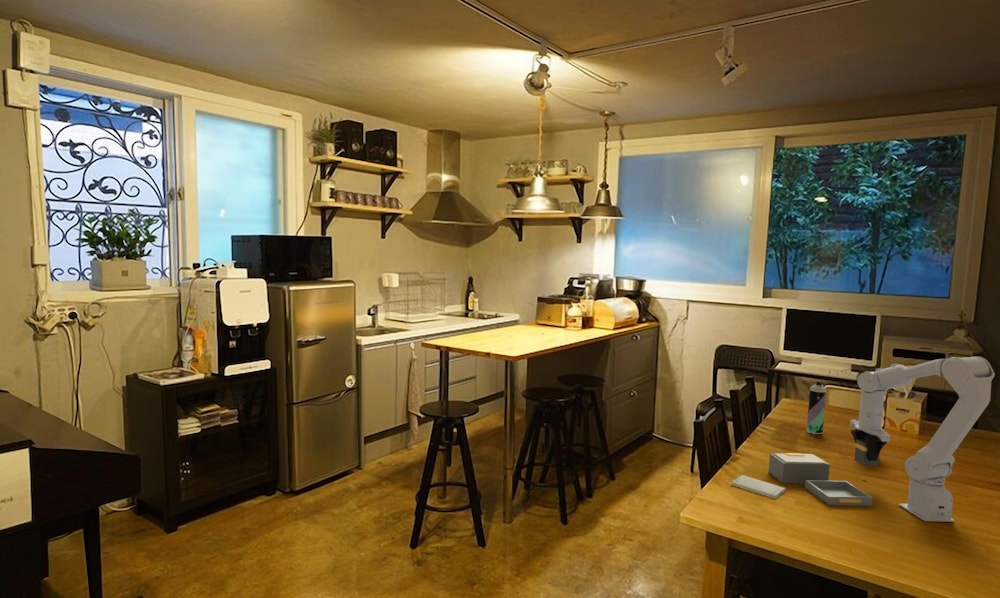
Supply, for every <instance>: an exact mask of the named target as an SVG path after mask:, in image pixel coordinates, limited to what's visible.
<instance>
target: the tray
mask: <svg viewBox="0 0 1000 598" xmlns="http://www.w3.org/2000/svg"><path fill="white" fill-rule="evenodd" d="M804 489H805V490H807V491H808V492H809V493H810V494H812V495H813V496H815V497H816V498H818V499H819V500H820V501H821V502H822V503H824V504H825V505H827V506H848V507H849V506H852V507H854V506H855V507H873V497H872V496H871V495H870V494H868V493H866V492H864V491H863V490H861V489H860V488H858V487H857V486H856V485H854V484H852V483H850V482H849V481H847V480H829V479H828V480H805V483H804Z"/></svg>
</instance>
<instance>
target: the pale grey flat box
mask: <svg viewBox="0 0 1000 598" xmlns="http://www.w3.org/2000/svg"><path fill="white" fill-rule="evenodd" d="M830 465H831V464H830V463H829V462H827V461H825V460H823V458H820V457H819V456H817V455H816V454H812V453H801V452H800V453H799V452H785V453H782V452H781V453H776V452H774V453H769V463H768V473H769V474H770V475H771V474H772V475H771V476H772V477H773V478H775V479H776V478H777V481H779V482H780V481H781V482H782V484H805V480H829V477H830V476H829V475H830V469H831V468H830V467H831V466H830ZM781 482H780V483H781Z"/></svg>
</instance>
